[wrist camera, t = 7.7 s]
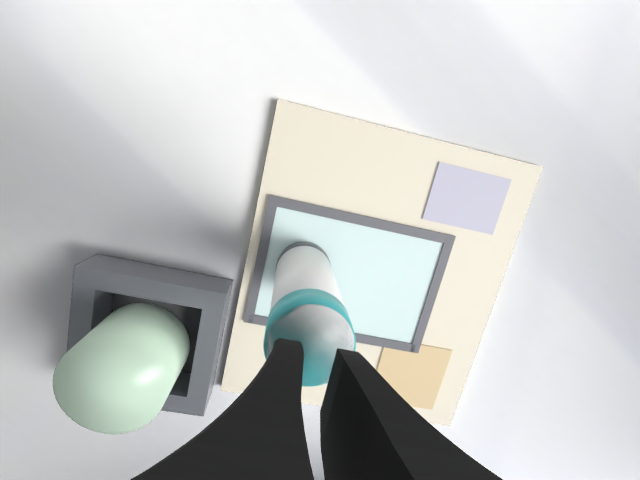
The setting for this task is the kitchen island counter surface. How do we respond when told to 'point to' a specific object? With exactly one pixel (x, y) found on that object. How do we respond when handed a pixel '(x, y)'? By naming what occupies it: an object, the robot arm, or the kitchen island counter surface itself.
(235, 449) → the robot arm
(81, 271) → the button housing
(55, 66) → the kitchen island counter surface
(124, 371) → the button
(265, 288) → the sheet
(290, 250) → the marker
